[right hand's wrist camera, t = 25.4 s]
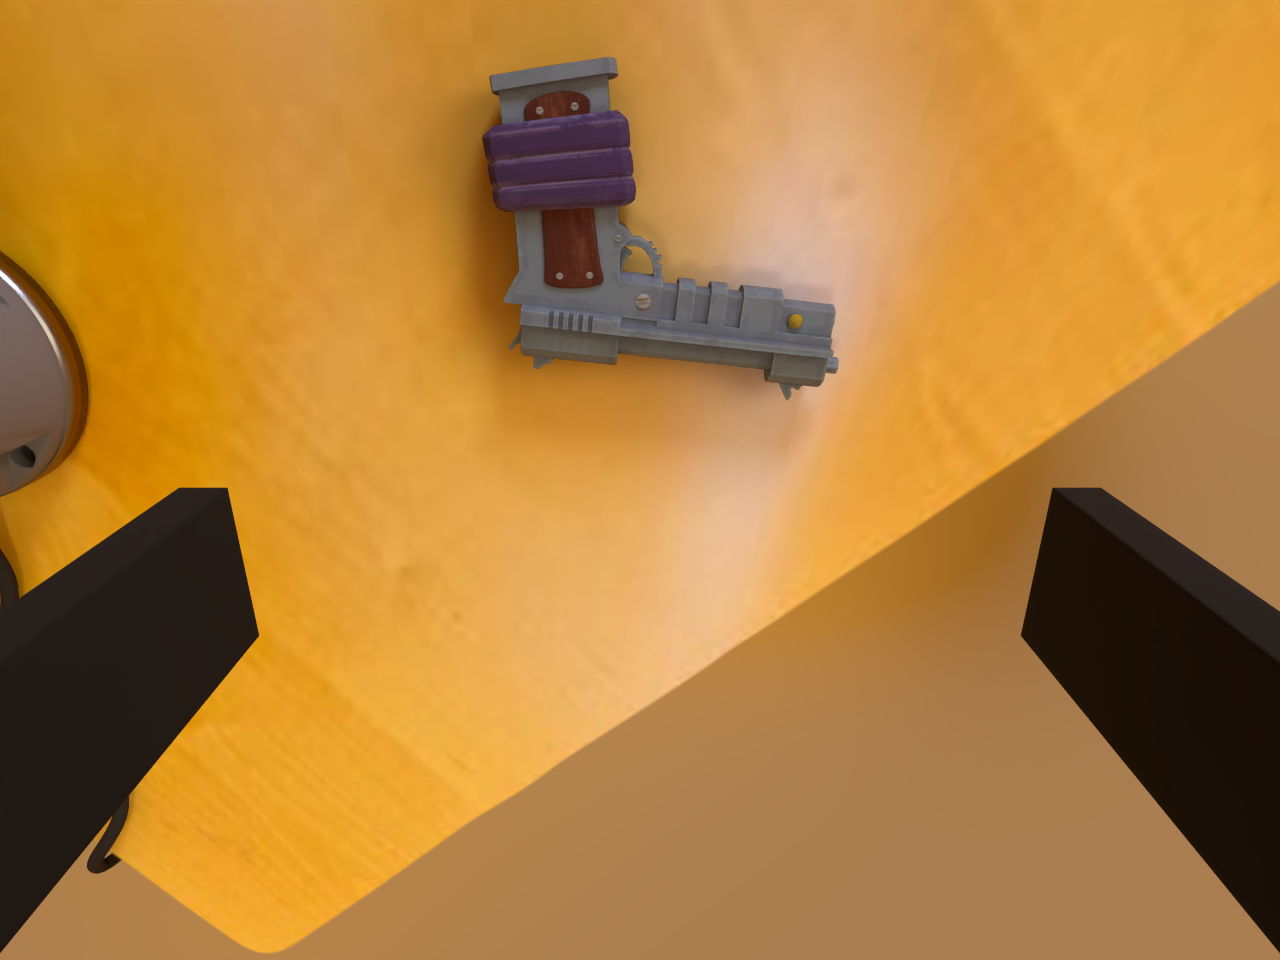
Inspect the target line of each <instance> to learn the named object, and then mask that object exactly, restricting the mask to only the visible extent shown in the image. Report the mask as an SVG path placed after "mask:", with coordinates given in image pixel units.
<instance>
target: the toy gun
mask: <svg viewBox="0 0 1280 960" xmlns="http://www.w3.org/2000/svg"><path fill="white" fill-rule="evenodd" d="M617 76H618V71H617V64H616V59H615V58H611V57H605V58H598V59H592V60H585V61H578V62H572V63H565V64H558V65H552V66H545V67H539V68H533V69H527V70H521V71H515V72H509V73H503V74H497V75H491V76H490V84H491V89H492V93H493V94H495V95H499V99H500V108H501V117H502V125H496V126H493V127H492V128H491V129H490V130H488V131H487V132H486V133H485V134H484V135H483V138H482V139H483V144H484V150H485V154H486V158H487V160H488V161H489V164H488V171H489V177H490V181H491V184H492V186H493V187H494V189H493V199H494V202H495V205H496V207H497V208H499V209H500V210H502V211H506V212H514V213H515V223H516V233H517V245H518V256H519V268H520V271H519V273H518V274H517V276H516V277H515V279H514V281H513V283H512V285H511V287H510V288H509V290H508V292H507V294H506V296H505V298H504V302H505V303H514V304H523V305H522V308H521V316H520V324H521V325H522V329H520V331H519V333H518V335H517V337H516V338H515V339H514V341H513V342H512V344H511V345H510V349H511V350H512V349H513V347H514V346H515V345H516V344H517V343H519V342H520V341H521V352H522V355H527V356H534V368H536V369H540V368H541V367H542V366H543V365H545V364H549V363H552V359H553V358H555V359H564V360H573V361H583V362H592V363H601V364H610V365H616V362H617V353H619V354H628V355H637V356H646V357H656V358H665V359H674V360H683V361H693V362H702V363H711V364H720V365H729V366H739V367H748V368H757V369H764V378H765V381H767V382H776V383H779V384H780V387H781V389H782V391H783V394H784V396H785V398H786V400H788V399H789V398H790V396H791V391H790V389H791V388H792V387H793V388H795V389H797V390H799V388H800V387H801V386H802V385H804V386H813V387H818V386H820V385H821V383H822V382H823V380H824V377H825V373H833V374H835V373H836V372H837V369H838V362H839V360H838V358H837V357H833V351H832V349H831V343H832V338H831V334H832V329H833V325H834V319H835V314H836V311H835V307H834V305H831V304H822V303H814V302H805V301H796V300H787V299H784V298H783V292H782V290H781V289H774V288H765V287H756V286H747V285H741V286H740V288H739V291H734V290H728V285H727V283H721V282H712V281H710V282H709V285H708V287H699V286H696V282H695V279H686V278H678V281H677V284H673V283H664V282H663V276H662V265H660V264H659V263H658V261H659V259H662V257H661V254H660V255H657V254H656V252H658V250H657V248H654V249H653V248H652V247H651V246H653V243H652V241H651V242H648V241H646V240H645V239H643V238H642V237H639V236H631V233H630V231H629V229H628V228H627V226H626V225H625V224H623V223H622V222H620V221H619V206H626V205H628V204H630V203H632V202H633V201H634V199H635V195H636V187H635V181H634V179H633V178H632V174H633V160H632V154H631V152H630V150H629V146H630V133H629V124H628V120H627V118H626V117H625V116H624V115H622V114H621V113H620V112H619V111H617V110H616V111H610V99H609V84H608V80H610V79H614V78H616V77H617ZM624 246H638V247H641V248H643V249H644V250H645V251H646V252H647V254H648V255H649V257H650V259H651V261H652V264H653V275H651V274H642V273H633V272H624V271H623V266H624V263H625V260H626V259H627V257H628V256H629V255H630V254H632V251H631V250H629V249H627V248H625V247H624Z"/></svg>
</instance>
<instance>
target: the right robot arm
mask: <svg viewBox="0 0 1280 960" xmlns="http://www.w3.org/2000/svg"><path fill="white" fill-rule="evenodd" d="M87 408H88V385H87V377H86V371H85V367H84V363H83V359H82V356H81V353H80V350H79V347H78V345H77V343H76V340H75V338H74V336H73V333H72V332H71V330H70V328H69V326H68V324H67V322H66V320H65V319H64V317H63V316H62V314H61V313H60V311H59V310H58V308H57V306H56V305H55V304H54V303H53V301H52V300H51V299H50V297H49V296H48V295H47V293H46V292H45V291H44V290H43V289H42V288H41V287H40V286H39V284H38V283H37V282H36V281H35V280H34V279H33V278H32V277H31V276H30V275H29V274H28V273H27V272H26V271H25V270H23V269H22V268H21V267H20V266H19V265H17V264H16V263H15V262H14V261H13V260H11V259H10V258H9V257H7V256H6V255H5V254H3V253H2V252H0V496H4V495H7V494H9V493H12V492H14V491H17V490H19V489H21V488H22V487H24V486H26V485H28V484H30V483H32V482H34V481H36V480H38V479H40V478H42V477H44V476H45V475H47V474H49V473H50V472H51V471H53V470H54V469H56V468H57V467H58V466H59V465H60V464H61V463H62V462H63V461H64V460H65V459H66V458H67V457H68V456H69V454H70V453H71V452H72V450H73V449H74V447H75V445H76V444H77V442H78V440H79V438H80V436H81V433H82V430H83V427H84V424H85V420H86V415H87ZM0 596H1V604H0V953H1V951H2V950H3V949H4V948H5V947H6V945H7V944H8V943H9V942H10V940H11V939H12V938H13V937H14V935H15V934H16V933H17V932H18V931H19V929H20V928H21V927H22V926H23V924H24V923H25V922H26V921H27V920H28V918H29V917H30V916H31V915H32V913H33V912H34V911H35V910H36V909H37V907H38V906H39V905H40V904H41V902H42V901H43V900H44V899H45V898H46V896H47V895H48V894H49V893H50V891H51V890H52V889H53V888H54V886H55V885H56V884H57V883H58V882H59V880H60V879H61V878H62V877H63V875H64V874H65V873H66V872H67V871H68V869H69V868H70V867H71V866H72V864H73V863H74V862H75V861H76V860H77V858H78V857H79V856H80V855H81V853H82V852H83V851H84V850H85V848H86V847H87V846H88V845H89V844H90V842H91V841H92V840H93V839H94V837H95V836H96V835H97V834H98V833H99V831H100V830H101V829H102V828H103V826H104V825H105V824H106V823H107V822H108V820H109V819H110V818H111V817H112V819H111V821H110V824H109V826H108V828H107V830H106V831H105V833H104V835H103V836H102V838H101V840H100V841H99V843H98V844H97V846H96V847H95V849H94V850H93V852H92V853H91V855H90V857H89V859H88V863H87V868H88V870H89V871H90V872H91V873H102V872H104V871H107V870H108V869H110V868H112V867H113V866H115V865H116V864H117V863H119V862H120V861H121V860H122V859H121V858H119V857H118V856H116V855H115V854H114V853H111V854H110V855H109V856H107V857H106V858H104V857H105V856H106V854H107V853H108V851H109V850H110V848H111V847H112V845H113V844H114V842H115V840H116V839H117V837H118V835H119V834H120V832H121V830H122V828H123V826H124V823H125V820H126V818H127V814H128V808H129V795H130V793H131V792H132V791H133V790H134V788H135V787H136V786H137V785H138V784H139V782H140V781H141V780H142V779H143V777H144V776H145V775H146V774H147V772H148V771H149V770H150V769H151V768H152V766H153V765H154V764H155V763H156V761H157V760H158V759H159V758H160V757H161V755H162V754H163V753H164V752H165V750H166V749H167V748H168V747H169V746H170V744H171V743H172V742H173V741H174V739H175V738H176V737H177V736H178V734H179V733H180V732H181V731H182V730H183V728H184V727H185V726H186V725H187V723H188V722H189V721H190V720H191V719H192V717H193V716H194V715H195V714H196V712H197V711H198V710H199V709H200V708H201V706H202V705H203V704H204V703H205V701H206V700H207V699H208V698H209V696H210V695H211V694H212V693H213V692H214V690H215V689H216V688H217V687H218V685H219V684H220V683H221V682H222V681H223V679H224V678H225V677H226V676H227V674H228V673H229V672H230V671H231V670H232V668H233V667H234V666H235V665H236V663H237V662H238V661H239V660H240V658H241V657H242V656H243V655H244V654H245V652H246V651H247V650H248V649H249V647H250V646H251V645H252V644H253V643H254V641H255V640H256V639H257V638H258V636H259V633H258V628H257V623H256V619H255V614H254V609H253V605H252V600H251V595H250V591H249V586H248V582H247V577H246V572H245V568H244V563H243V558H242V554H241V549H240V544H239V540H238V535H237V530H236V526H235V521H234V516H233V512H232V507H231V502H230V498H229V493H228V488H178V489H177V490H175V491H174V492H172V493H171V494H169V495H168V496H167V497H165V498H164V499H162V500H161V501H159V502H158V503H156V504H155V505H154V506H152V507H151V508H149V509H148V510H146V511H145V512H143V513H142V514H141V515H139V516H138V517H136V518H135V519H133V520H132V521H130V522H129V523H128V524H126V525H125V526H123V527H122V528H120V529H119V530H117V531H116V532H115V533H113V534H112V535H110V536H109V537H107V538H106V539H104V540H103V541H102V542H100V543H99V544H97V545H96V546H94V547H93V548H91V549H90V550H89V551H87V552H86V553H84V554H83V555H81V556H80V557H78V558H77V559H76V560H74V561H73V562H71V563H70V564H68V565H67V566H65V567H64V568H63V569H61V570H60V571H58V572H57V573H55V574H54V575H52V576H51V577H50V578H48V579H47V580H45V581H44V582H42V583H41V584H39V585H38V586H37V587H35V588H34V589H32V590H31V591H29V592H28V593H26V594H25V595H24V596H22V597H21V598H19V592H18V584H17V579H16V576H15V574H14V571H13V569H12V567H11V565H10V563H9V562H8V560H7V558H6V557H5V555H4V554H3V552H2V550H1V549H0ZM1021 636H1022V638H1023V639H1024V640H1025V641H1026V643H1027V644H1028V645H1029V646H1030V647H1031V649H1032V650H1033V651H1034V652H1035V654H1036V655H1037V656H1038V657H1039V658H1040V660H1041V661H1042V662H1043V663H1044V665H1045V666H1046V667H1047V668H1048V670H1049V671H1050V672H1051V673H1052V674H1053V676H1054V677H1055V678H1056V679H1057V681H1058V682H1059V683H1060V684H1061V685H1062V687H1063V688H1064V689H1065V690H1066V692H1067V693H1068V694H1069V695H1070V696H1071V698H1072V699H1073V700H1074V701H1075V703H1076V704H1077V705H1078V706H1079V708H1080V709H1081V710H1082V711H1083V712H1084V714H1085V715H1086V716H1087V717H1088V718H1089V720H1090V721H1091V722H1092V723H1093V725H1094V726H1095V727H1096V728H1097V730H1098V731H1099V732H1100V733H1101V734H1102V736H1103V737H1104V738H1105V739H1106V741H1107V742H1108V743H1109V744H1110V746H1111V747H1112V748H1113V749H1114V750H1115V752H1116V753H1117V754H1118V755H1119V757H1120V758H1121V759H1122V760H1123V761H1124V763H1125V764H1126V765H1127V766H1128V768H1129V769H1130V770H1131V771H1132V772H1133V774H1134V775H1135V776H1136V777H1137V779H1138V780H1139V781H1140V782H1141V784H1142V785H1143V786H1144V787H1145V788H1146V790H1147V791H1148V792H1149V793H1150V794H1151V796H1152V797H1153V798H1154V799H1155V801H1156V802H1157V803H1158V804H1159V806H1160V807H1161V808H1162V809H1163V810H1164V812H1165V813H1166V814H1167V815H1168V817H1169V818H1170V819H1171V820H1172V822H1173V823H1174V824H1175V825H1176V826H1177V828H1178V829H1179V830H1180V831H1181V833H1182V834H1183V835H1184V836H1185V837H1186V839H1187V840H1188V841H1189V842H1190V844H1191V845H1192V846H1193V847H1194V848H1195V850H1196V851H1197V852H1198V853H1199V855H1200V856H1201V857H1202V858H1203V859H1204V861H1205V862H1206V863H1207V864H1208V866H1209V867H1210V868H1211V869H1212V871H1213V872H1214V873H1215V874H1216V875H1217V877H1218V878H1219V879H1220V880H1221V882H1222V883H1223V884H1224V885H1225V886H1226V888H1227V889H1228V890H1229V891H1230V893H1231V894H1232V895H1233V896H1234V897H1235V899H1236V900H1237V901H1238V902H1239V904H1240V905H1241V906H1242V907H1243V909H1244V910H1245V911H1246V912H1247V913H1248V915H1249V916H1250V917H1251V918H1252V920H1253V921H1254V922H1255V923H1256V924H1257V926H1258V927H1259V928H1260V929H1261V931H1262V932H1263V933H1264V934H1265V936H1266V937H1267V938H1268V939H1269V940H1270V942H1271V943H1272V944H1273V945H1274V947H1275V948H1276V949H1277V950H1278V951H1279V953H1280V611H1278V610H1277V609H1275V608H1274V607H1272V606H1271V605H1269V604H1268V603H1267V602H1265V601H1264V600H1262V599H1261V598H1259V597H1258V596H1256V595H1255V594H1254V593H1252V592H1251V591H1249V590H1248V589H1246V588H1245V587H1243V586H1242V585H1241V584H1239V583H1238V582H1236V581H1235V580H1233V579H1232V578H1230V577H1229V576H1228V575H1226V574H1225V573H1223V572H1222V571H1220V570H1219V569H1217V568H1216V567H1215V566H1213V565H1212V564H1210V563H1209V562H1207V561H1206V560H1204V559H1203V558H1202V557H1200V556H1199V555H1197V554H1196V553H1194V552H1193V551H1191V550H1190V549H1189V548H1187V547H1186V546H1184V545H1183V544H1181V543H1180V542H1178V541H1177V540H1176V539H1174V538H1173V537H1171V536H1170V535H1168V534H1167V533H1165V532H1164V531H1163V530H1161V529H1160V528H1158V527H1157V526H1155V525H1154V524H1152V523H1151V522H1150V521H1148V520H1147V519H1145V518H1144V517H1142V516H1141V515H1139V514H1138V513H1137V512H1135V511H1134V510H1132V509H1131V508H1129V507H1128V506H1126V505H1125V504H1124V503H1122V502H1121V501H1119V500H1118V499H1116V498H1115V497H1113V496H1112V495H1110V494H1109V493H1108V492H1106V491H1105V490H1103V489H1102V488H1053V489H1052V493H1051V498H1050V503H1049V507H1048V512H1047V516H1046V521H1045V526H1044V530H1043V535H1042V540H1041V544H1040V549H1039V554H1038V558H1037V563H1036V568H1035V572H1034V577H1033V582H1032V586H1031V591H1030V595H1029V600H1028V605H1027V609H1026V614H1025V619H1024V623H1023V628H1022V633H1021ZM112 815H113V816H112Z"/></svg>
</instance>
